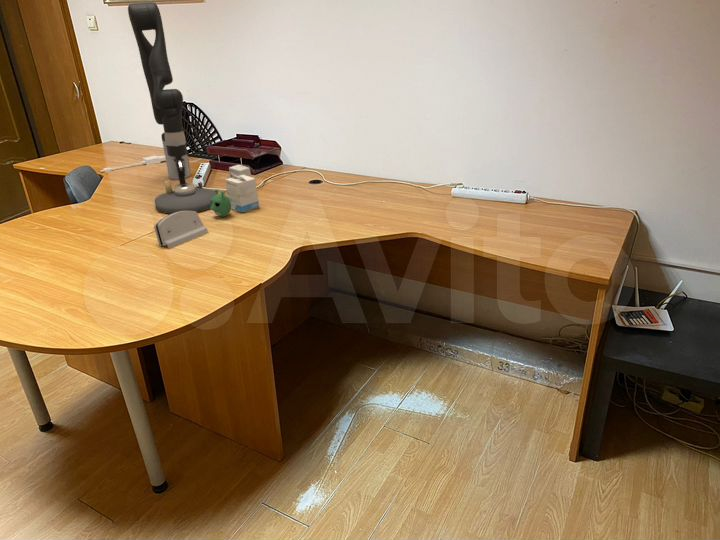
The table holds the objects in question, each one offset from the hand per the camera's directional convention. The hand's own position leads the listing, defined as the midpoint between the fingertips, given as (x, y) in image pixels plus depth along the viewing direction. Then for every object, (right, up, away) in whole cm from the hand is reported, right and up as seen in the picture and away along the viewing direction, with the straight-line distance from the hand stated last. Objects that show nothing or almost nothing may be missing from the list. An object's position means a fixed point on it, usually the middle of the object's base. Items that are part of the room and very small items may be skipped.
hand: (183, 185), depth 206 cm
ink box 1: (+24, -4, +3) cm, 24 cm away
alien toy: (+21, -15, -20) cm, 33 cm away
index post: (+6, -2, +6) cm, 8 cm away
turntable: (+4, -9, -7) cm, 12 cm away
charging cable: (-40, +17, +48) cm, 65 cm away
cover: (+2, -4, -4) cm, 6 cm away
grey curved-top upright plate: (+13, -24, -38) cm, 47 cm away
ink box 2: (+28, -11, -11) cm, 32 cm away
